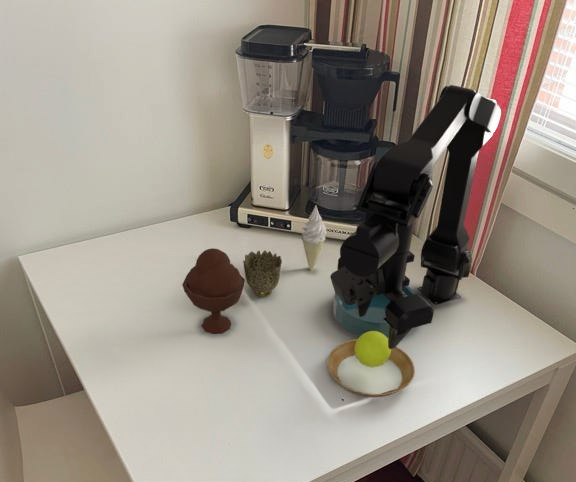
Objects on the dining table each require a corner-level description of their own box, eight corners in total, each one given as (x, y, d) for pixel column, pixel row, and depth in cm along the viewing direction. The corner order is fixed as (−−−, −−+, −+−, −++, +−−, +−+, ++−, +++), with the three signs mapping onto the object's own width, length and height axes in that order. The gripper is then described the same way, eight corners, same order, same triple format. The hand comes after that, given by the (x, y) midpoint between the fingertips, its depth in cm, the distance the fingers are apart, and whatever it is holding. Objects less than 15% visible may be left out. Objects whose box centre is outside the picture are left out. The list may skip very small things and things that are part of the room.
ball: (376, 353, 107) (380, 322, 103) (395, 369, 102) (400, 338, 99) (346, 359, 104) (349, 328, 101) (365, 376, 100) (369, 344, 97)
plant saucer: (365, 339, 113) (367, 327, 111) (429, 379, 105) (432, 367, 103) (308, 373, 105) (309, 362, 103) (373, 419, 97) (375, 407, 96)
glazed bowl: (386, 286, 126) (389, 268, 123) (431, 328, 116) (435, 310, 113) (318, 303, 121) (320, 285, 118) (359, 349, 110) (361, 331, 108)
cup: (276, 307, 119) (277, 272, 114) (239, 302, 120) (238, 267, 115) (284, 287, 125) (285, 252, 119) (249, 282, 126) (248, 247, 120)
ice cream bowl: (175, 325, 114) (166, 254, 104) (219, 301, 120) (215, 232, 110) (213, 351, 109) (208, 279, 99) (257, 324, 115) (257, 254, 105)
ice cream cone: (327, 269, 130) (333, 204, 120) (315, 280, 127) (320, 213, 117) (307, 262, 132) (311, 197, 122) (294, 273, 129) (297, 206, 119)
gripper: (311, 226, 92) (305, 311, 102) (376, 290, 79) (362, 380, 90) (374, 213, 95) (363, 297, 106) (446, 272, 83) (425, 360, 93)
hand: (376, 331), depth 99 cm, fingers open, 9 cm apart
